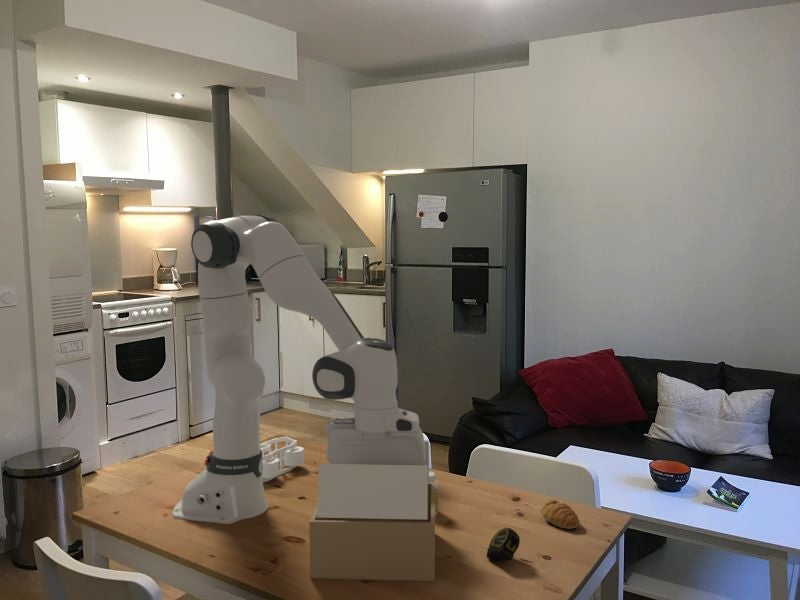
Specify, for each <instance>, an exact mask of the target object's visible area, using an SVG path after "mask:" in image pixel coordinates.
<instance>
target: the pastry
mask: <svg viewBox="0 0 800 600" xmlns="http://www.w3.org/2000/svg"><path fill="white" fill-rule="evenodd" d="M540 513H541V515H542V517H543V519H545V520H546V521H547V522H549V524H550V523H551V524H553V525H554V526H557V527H559V528H561V529H567V530H572V529H574V528H575V529H576V528H577V527H579V525H580V522H581V521H580V519H579V517H578V515H577V514H576V512H575V511H574V510H573V509H572V508H571V506H568V505H567V504H566V503H563V502H562V503H561V502H559V501H558V500H555V499H553V500H549V501H547V502H546V503H544V505H543V506H542V508H541V509H540Z"/></svg>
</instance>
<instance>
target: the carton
mask: <svg viewBox="0 0 800 600" xmlns="http://www.w3.org/2000/svg"><path fill="white" fill-rule="evenodd" d="M308 523H309V525H308V526H309V529H308V530H309V566H310V567H309V576H310V578H309V579H312V580H313V579H315V580H345V581H348V580H349V581H351V580H352V581H378V580H385V582H387V581H388V582H414V581H420V582H423V583H428V582H427V581H431V582H430V583H435V581H436V577H435V576H436V571H435V570H436V515H435V482H428V520H424V519H372V518H320V517H317V505H316V506H315V508H314V510H313V513H312V515H311V518H310V520H309V522H308Z"/></svg>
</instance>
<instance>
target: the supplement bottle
mask: <svg viewBox="0 0 800 600" xmlns="http://www.w3.org/2000/svg"><path fill="white" fill-rule="evenodd" d="M428 482H435V516H437V515H438V512H439V484H438V482H437V481H436V473H435V472H434V471H430V470H429V481H428Z"/></svg>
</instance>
